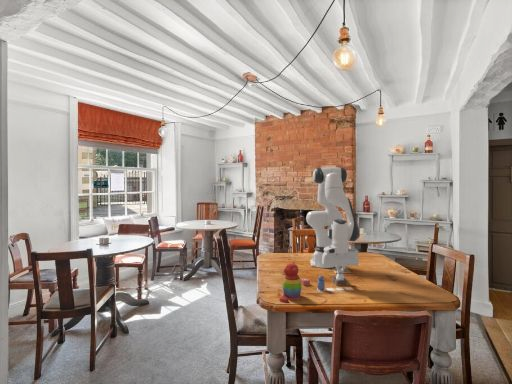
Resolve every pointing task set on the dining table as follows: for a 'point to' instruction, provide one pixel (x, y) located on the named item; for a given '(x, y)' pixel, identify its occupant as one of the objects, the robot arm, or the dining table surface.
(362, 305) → the dining table surface
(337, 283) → the popper box
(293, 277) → the stacking bear
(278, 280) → the dining table surface
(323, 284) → the pawn
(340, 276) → the dome
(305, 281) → the die
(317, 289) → the track
